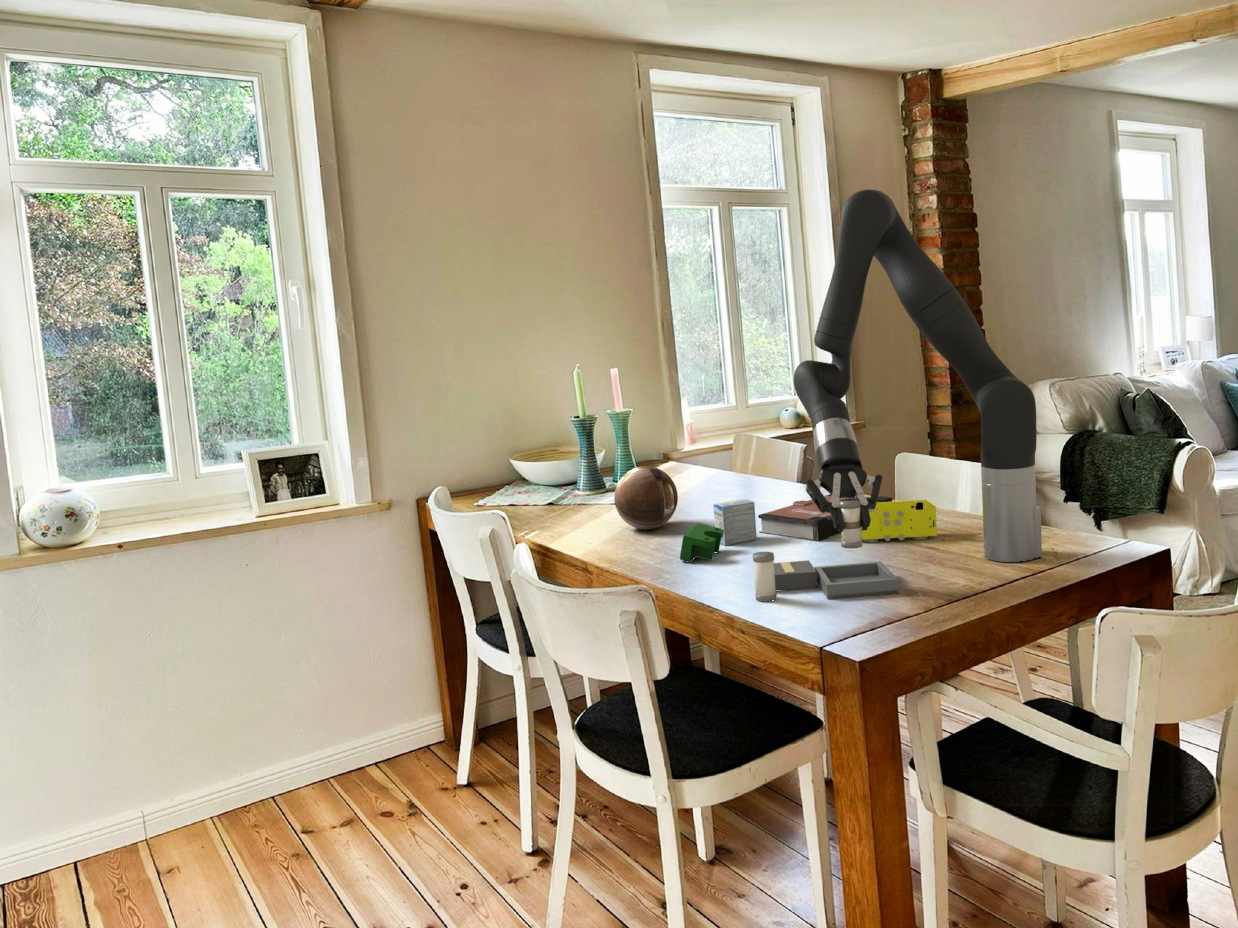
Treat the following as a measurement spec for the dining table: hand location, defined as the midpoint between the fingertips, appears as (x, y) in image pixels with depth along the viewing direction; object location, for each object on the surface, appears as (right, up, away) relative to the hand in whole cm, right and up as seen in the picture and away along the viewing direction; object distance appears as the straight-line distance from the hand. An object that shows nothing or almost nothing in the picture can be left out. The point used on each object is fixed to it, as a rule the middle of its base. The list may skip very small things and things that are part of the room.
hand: (853, 528), depth 169 cm
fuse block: (-10, -11, +9) cm, 17 cm away
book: (+6, -3, +53) cm, 53 cm away
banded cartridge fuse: (0, -3, +2) cm, 4 cm away
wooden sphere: (-33, -5, +65) cm, 73 cm away
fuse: (-15, -12, +1) cm, 19 cm away
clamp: (-23, -8, +35) cm, 42 cm away
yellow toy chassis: (+17, -5, +35) cm, 39 cm away
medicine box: (-15, -6, +45) cm, 48 cm away
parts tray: (+1, -10, +4) cm, 11 cm away
